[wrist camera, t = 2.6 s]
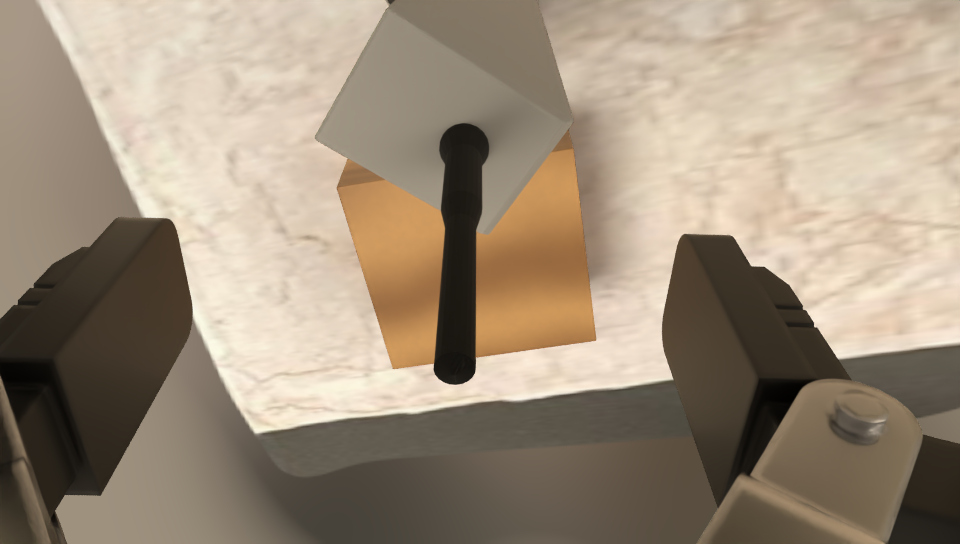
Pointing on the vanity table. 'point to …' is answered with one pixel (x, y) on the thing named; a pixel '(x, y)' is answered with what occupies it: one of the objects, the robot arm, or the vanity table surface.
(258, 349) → the vanity table surface
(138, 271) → the robot arm
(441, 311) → the vintage mobile phone
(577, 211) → the maple block
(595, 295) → the vanity table surface
